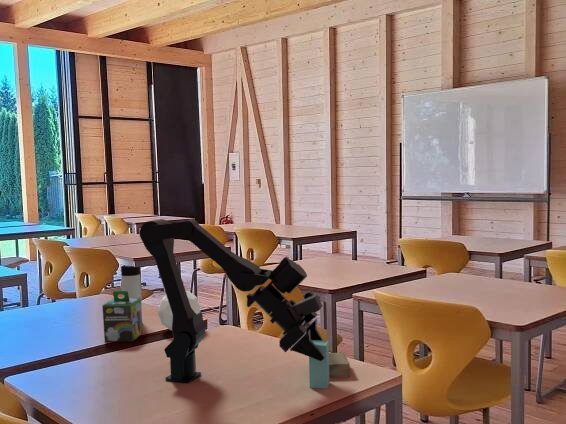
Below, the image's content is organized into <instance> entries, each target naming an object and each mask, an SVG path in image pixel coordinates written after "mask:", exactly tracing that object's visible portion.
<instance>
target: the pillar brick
mask: <svg viewBox="0 0 566 424" xmlns="http://www.w3.org/2000/svg"><path fill="white" fill-rule="evenodd" d="M312 341H313V343H314V344H315V345H316V347H317V348H318V349H319V351H320V352H321V353H322V355H323V356H324V359H323V360H322V361H319V360H316V359H314V358H311V357H309V356H308V369H309V370H308V372H309V373H308V375H309V379H308V380H309V388H310V389H324V390H325V389H326V390H327V389H328V388H329V384H330V377H329V353H330V350H329V349H330V345H329V343H330V342H329V341H330V340H324V339H323V340H312Z"/></svg>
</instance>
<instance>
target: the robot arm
mask: <svg viewBox="0 0 566 424" xmlns="http://www.w3.org/2000/svg"><path fill="white" fill-rule="evenodd" d="M183 237H184V238H185V239H187V240H188V241H189V242H190V243H191V244H193V245H194V246H195V247H197V248H198V249H199V250H200V251H201V252H203V253H204V254H205V255H206V256H208V258H210V259H211V260H212V261H213V262H214V263H215V264H217V265H218V266H219V267H220V268H221V269H222V270H223V271H224V272H225V275H226V277H227V279H228V280H229V281H230V282H231V283H232V284H233V285H234V286H235V288H236V290H237V289H238V291H241V292H251V291H253V290H254V289H255V288H256V287H258V288H257V289H256V290H255V291H254V292H253V293H248V294H246V307H247V308H250V307H251V306H252V305H253V304H255V303H256V304H257V306H259V307H260V308H261V309H262V310H263V311H264V312H265V314H266V315H267V316H268V317H270V320H269V321H270V323H271V324H274V323H275V324H276V325H278V327H279V328H280V329H281V330H282V331H283V332H282V335H283V336H282V337H281V338H279V342H278V343H279V344H278V345H279V348H281V350H283V352H284V353H286V352H288V351H290V352H295V353H298V354H300V355H304V356H306V357H308V358H309V357H311V358H314V359H316V360H319V361H322V360H323V359H324V356H323V355H322V353H321V352H320V351H319V349H318V348H317V347H316V345H315V344H314V343H313V341H312V340H324V339H323V337H322V335H321V334H320V332H319V330H318V325H317V324H318V318H316V317H317V316H318V313H317V312H318V311H321V309H322V307H323V303H322V301H321V297H320V296H319V295H318V293H314V292H312V291H311V290H309V291H307V292H305V293H304V295H303V299H301V300H299V301H298V302H296V301H295V300H293V299H289V300H288V298H286V297H285V296H284V294H285V293H287V294H292V292H293V291H294V290H295V289H297V288H298V286H299V285H300V284H301V283H303V281H304V280H305V279H307V277H308V274H307V272H306V271H305V269H304V268H303V267H302V266H301V265H300V264H298V263H297V262H295V261H293V260H292V259H290V258H289V257H288V256H285V257H283V258H282V260H281V261H280V262H279V264H278V265H276V267H275V268H274V269H273V270H272V269H271V270H270V269H264V268H261V267H260V266H259V265H257V264H256V263H254V262H252V261H250V260H249V259H247V258H245V257H242V256H240V255H238V254H235V253H234V252H233V251H232V250H231V249H229V248H228V247H227V246H226V245H225V244H223V243H222V242H221V241H220V240H219V239H217V238H216V237H215V236H214V235H213V234H211V233H210V232H209V231H208V230H206V229H205V227H203V226H202V225H200V224H199V222H198V221H197V220H196V219H193V218H191V219H187V220H178V221H176V220H175V221H170V222H169V221H167V220H166V219H164V218H158V219H154V220H153V219H152V220H148V221H146V222H144V223H143V224H142V225H141V227H140V229H139V238H140V240H141V241H142V243H143V245H144V247H145V250H147V252H148V253H149V255H151V257H152V258H153V259H154V262H155V264H156V268H157V270H158V274H159V277H160V280H161V283H162V286H163V289H164V292H165V295H167V299H168V302H169V305H170V308H171V311H172V314H173V320H172V330H171V332H172V337H173V340H172V341H171V342H170V343H168V345H167V346H165V348H164V350H163V351H164V354H165V355H166V357H167V358H169V360H170V361H169V362H170V363H169V364H170V365H169V367H170V368H169V369H170V375H167V376H166V377H165V380H166V381H171V382H176V383H177V382H179V383H187V384H188V383H190V382H191V381H194V380H195V379H197V378H199V376H201V375H202V372H200V371H196V370H197V368H196V366H197V365H196V364H197V363H196V362H197V361H196V349H197V348H199V344H200V343H201V342H202V341H203V340H204V338H205V336H206V329H207V327H208V326H207V325H206V323H205V321H204V317H203V312H201V311H200V313H198V314H196V313H195V312H194V311H193V310H192V308H191V306H190V303H189V300H188V297H187V294H186V291H187V290H186V288H185V285H184V281H183V278H182V275H181V274H180V273H181V272H180V269H179V265H178V264H177V260H176V258H175V253H174V248H175V247H174V245H175V239H177V238H183ZM269 280H270V282H269V283H268V284H267V285H266V286H263V285H264V284H265V283H267V282H268V281H269ZM185 290H186V291H185Z"/></svg>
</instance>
